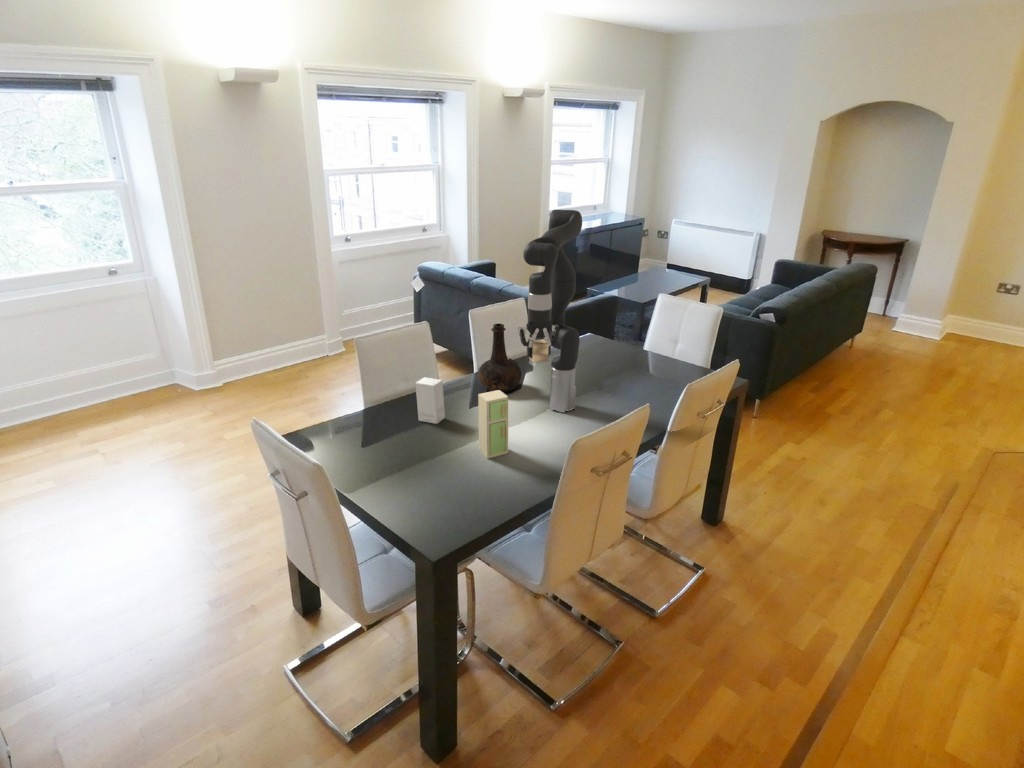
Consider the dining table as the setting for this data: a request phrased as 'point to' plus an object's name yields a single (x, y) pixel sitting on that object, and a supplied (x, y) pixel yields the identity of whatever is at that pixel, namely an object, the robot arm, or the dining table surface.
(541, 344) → the beech block
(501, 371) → the glass bottle
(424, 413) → the skincare box
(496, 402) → the toy refrigerator
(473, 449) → the dining table surface
